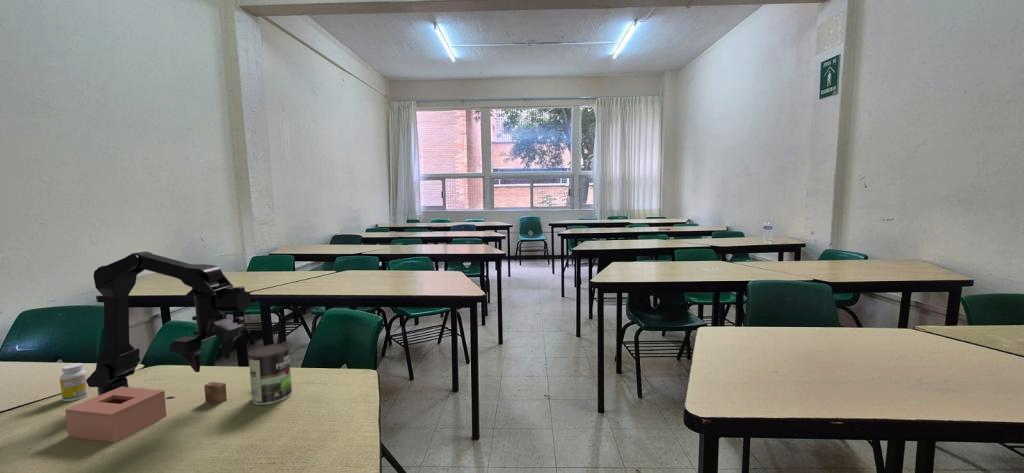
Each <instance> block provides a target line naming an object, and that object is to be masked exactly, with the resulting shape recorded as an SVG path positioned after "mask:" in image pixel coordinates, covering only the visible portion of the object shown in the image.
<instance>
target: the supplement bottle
mask: <svg viewBox="0 0 1024 473" xmlns="http://www.w3.org/2000/svg"><path fill="white" fill-rule="evenodd" d="M61 371H62V374H61V375H60V377H59V382H60V383H59V384H60V391H61V400H62V401H63V402H72V401H73V402H74V401H77V400H80V399H84V398H85V397H87V396H89V395H90V394H89V393H90V391H89V389H90V388H89V386H88V384H87V382H86V380H87V379H88V372H87V371H86V370H85V369H84V365H83V363H81V362H78V363H77V362H76V363H71V364H68V365H64V366H62V370H61Z"/></svg>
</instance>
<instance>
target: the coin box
mask: <svg viewBox="0 0 1024 473" xmlns="http://www.w3.org/2000/svg"><path fill="white" fill-rule="evenodd" d="M64 411H65V419H66V425H67V426H66V427H67V434H68V437H69V438H75V439H82V440H90V441H91V440H92V441H98V442H99V441H100V442H105V443H106V442H108V443H117V442H118V441H121V440H122V439H124V438H126V437H129V436H130V435H132V434H134V433H136V432H139V431H140V430H142V429H143V427H144V428H145V426H146V427H147V425H148V426H149V424H150V425H151V423H152V424H154V423H155V422H158V421H159V420H161V419H163V418H165V417H167V405H166V395H165V390H161V389H153V388H140V387H119V388H117V389H114V390H112V391H109V392H107V393H104V394H102V395H99V396H98V395H97V396H95V397H92V398H89V399H88V400H85V401H82V402H80V403H78V404H75V405H73V406H70V407H68V408H65V410H64ZM153 422H154V423H153Z"/></svg>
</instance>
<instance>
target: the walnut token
mask: <svg viewBox="0 0 1024 473" xmlns="http://www.w3.org/2000/svg"><path fill="white" fill-rule="evenodd" d="M226 386H227V385H226V383H224V382H215V381H211V382H210V381H209V382H208V383H206V384H204V385H203V387H204V398H205V403H212V404H223V403H224V402H226V401H228V399H227V396H228V395H227V387H226Z"/></svg>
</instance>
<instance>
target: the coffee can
mask: <svg viewBox="0 0 1024 473" xmlns="http://www.w3.org/2000/svg"><path fill="white" fill-rule="evenodd" d="M290 349H291V347H290V345H289V344H286V343H273V344H266V345H262V346H258V347H256V348H253V349H251V350H250V351H249V352H248V353H247V355H248V361H249V375H250V376H249V378H250V390H251V393H250V394H251V403H252V404H254V405H257V406H265V405H268V406H269V405H273V404H277V403H281V402H283V401H285V400H286V399H288V398H289V397H291V396H292V394H293V388H292V385H293V384H292V370H291V369H292V368H291V354H290Z"/></svg>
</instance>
